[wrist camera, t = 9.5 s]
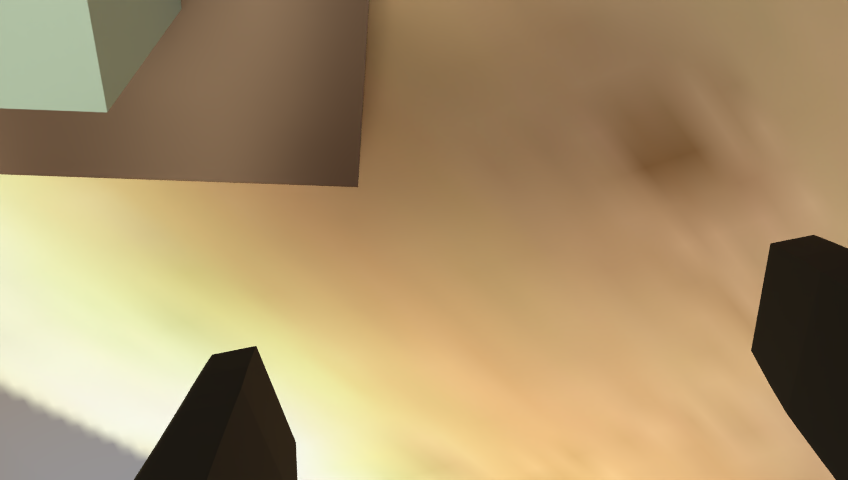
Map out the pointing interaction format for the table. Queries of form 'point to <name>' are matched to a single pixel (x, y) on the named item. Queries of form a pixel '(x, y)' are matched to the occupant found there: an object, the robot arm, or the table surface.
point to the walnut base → (219, 102)
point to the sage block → (75, 50)
